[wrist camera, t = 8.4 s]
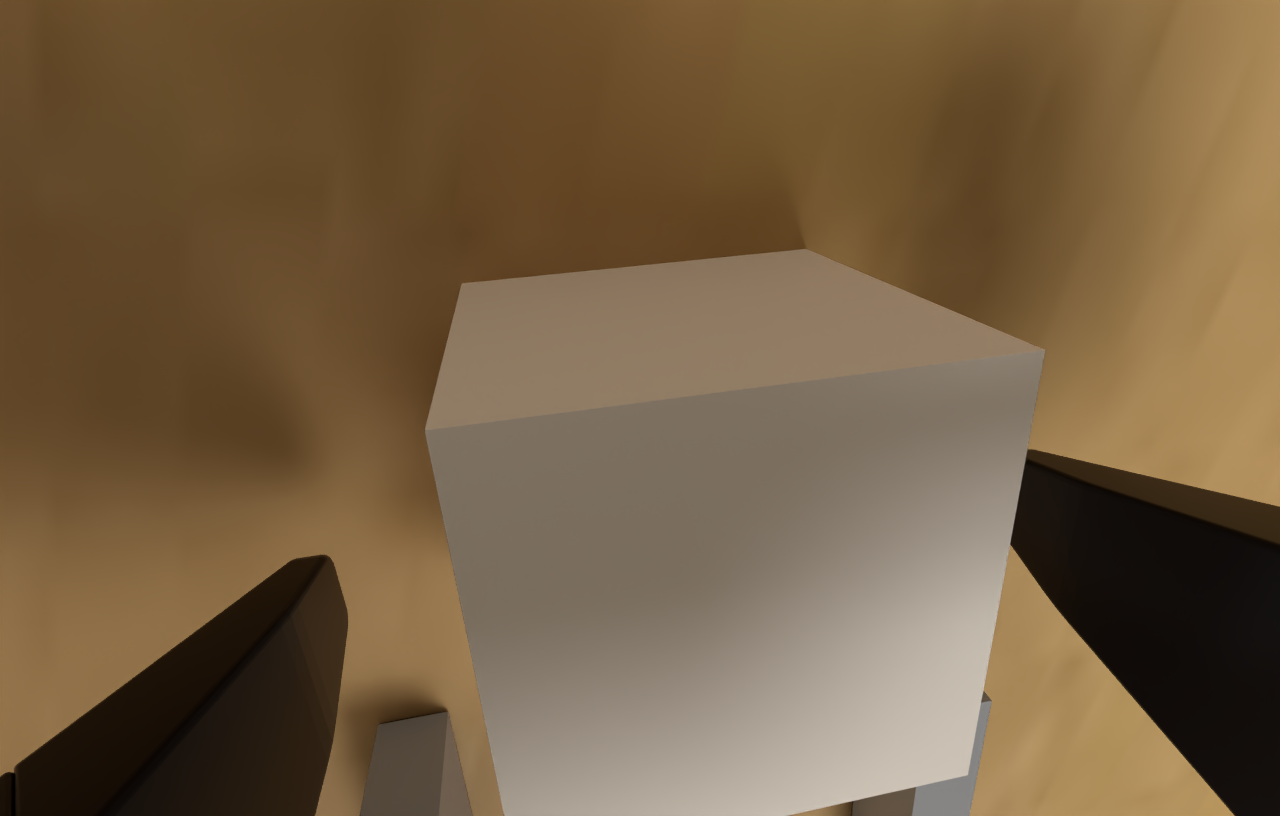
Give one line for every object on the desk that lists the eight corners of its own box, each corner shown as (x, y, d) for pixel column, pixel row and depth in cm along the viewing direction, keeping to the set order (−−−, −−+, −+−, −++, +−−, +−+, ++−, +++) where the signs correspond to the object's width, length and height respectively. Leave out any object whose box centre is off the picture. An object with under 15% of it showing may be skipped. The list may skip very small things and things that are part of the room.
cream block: (795, 531, 12) (967, 775, 8) (510, 577, 11) (516, 876, 7) (804, 248, 10) (1046, 349, 6) (461, 282, 9) (423, 431, 5)
